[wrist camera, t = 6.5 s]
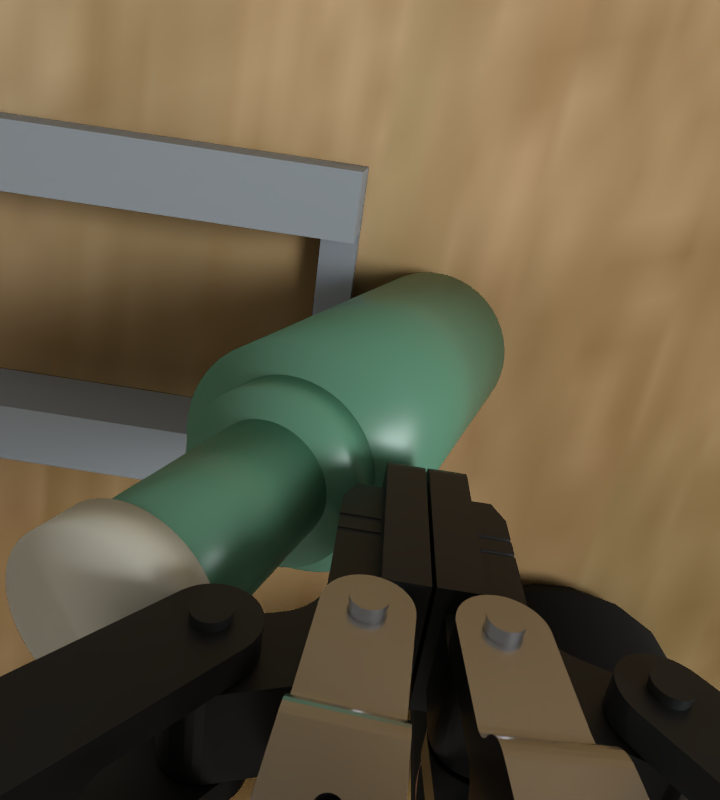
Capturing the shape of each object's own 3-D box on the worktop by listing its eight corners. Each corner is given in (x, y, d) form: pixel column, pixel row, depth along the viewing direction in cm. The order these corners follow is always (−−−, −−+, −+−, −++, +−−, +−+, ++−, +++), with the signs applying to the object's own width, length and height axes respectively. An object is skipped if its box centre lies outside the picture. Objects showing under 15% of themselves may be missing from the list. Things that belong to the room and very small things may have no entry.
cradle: (368, 166, 21) (362, 172, 18) (328, 466, 25) (319, 506, 23) (-119, 94, 21) (-197, 88, 19) (-79, 403, 26) (-138, 436, 23)
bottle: (520, 290, 21) (277, 524, 7) (485, 438, 23) (243, 845, 9) (368, 258, 22) (-71, 396, 9) (348, 398, 24) (-36, 694, 11)
